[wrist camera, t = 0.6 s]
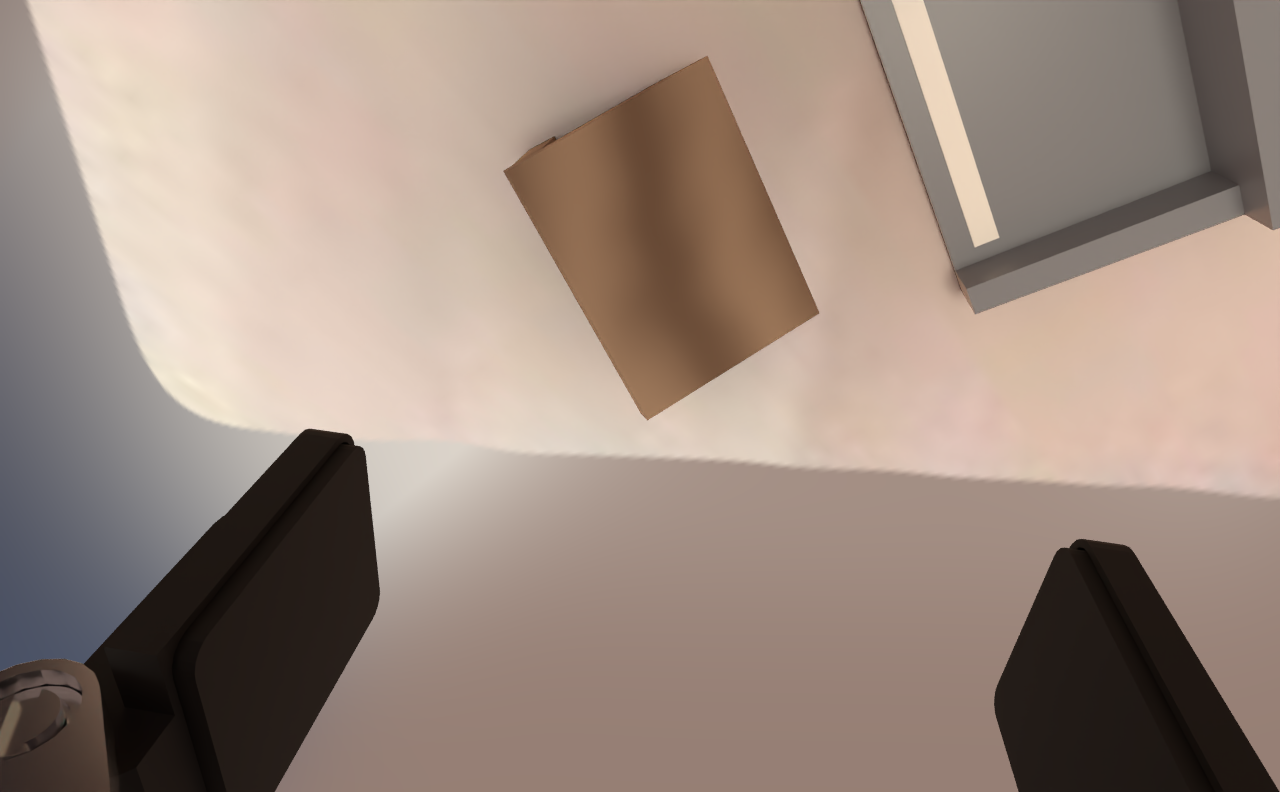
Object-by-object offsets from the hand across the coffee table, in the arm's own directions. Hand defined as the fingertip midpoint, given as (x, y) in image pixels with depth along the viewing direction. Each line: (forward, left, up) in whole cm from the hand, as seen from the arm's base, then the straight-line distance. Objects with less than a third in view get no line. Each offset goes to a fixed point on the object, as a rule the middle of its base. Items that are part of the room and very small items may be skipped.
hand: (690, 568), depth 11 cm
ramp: (+4, +2, -26) cm, 26 cm away
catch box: (-12, +2, -26) cm, 29 cm away
